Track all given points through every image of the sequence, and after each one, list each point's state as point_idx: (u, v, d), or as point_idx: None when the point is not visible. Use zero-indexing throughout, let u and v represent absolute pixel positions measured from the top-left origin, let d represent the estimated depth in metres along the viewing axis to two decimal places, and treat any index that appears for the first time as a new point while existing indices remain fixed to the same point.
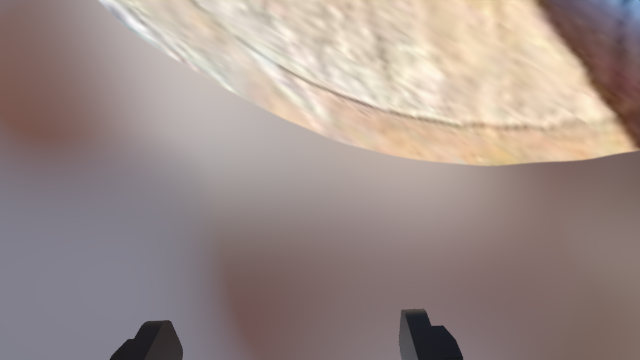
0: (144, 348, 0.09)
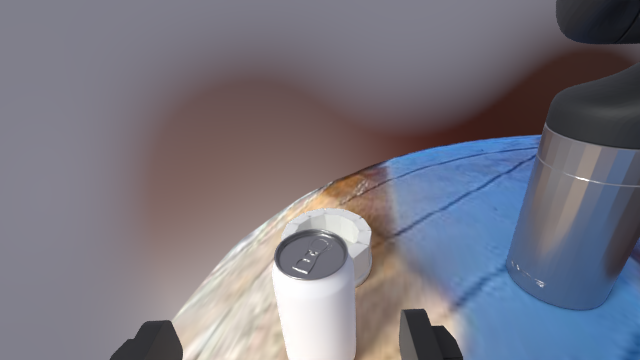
0: (144, 348, 0.09)
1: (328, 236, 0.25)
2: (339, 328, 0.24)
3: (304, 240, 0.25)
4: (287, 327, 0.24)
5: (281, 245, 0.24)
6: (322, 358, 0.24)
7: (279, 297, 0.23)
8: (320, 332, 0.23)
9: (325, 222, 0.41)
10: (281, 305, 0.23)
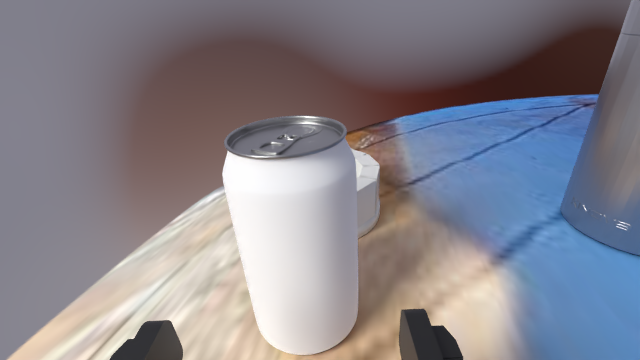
0: (144, 348, 0.09)
1: (316, 124, 0.16)
2: (331, 261, 0.14)
3: (278, 128, 0.16)
4: (248, 260, 0.15)
5: (240, 131, 0.15)
6: (304, 313, 0.15)
7: (231, 204, 0.14)
8: (298, 262, 0.14)
9: None
10: (235, 219, 0.14)
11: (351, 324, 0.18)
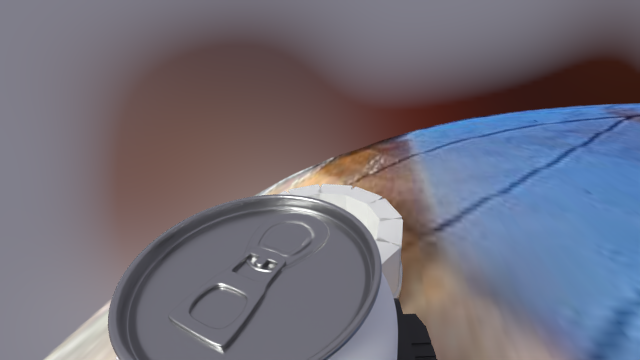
0: None
1: (316, 214, 0.09)
2: None
3: (246, 224, 0.09)
4: None
5: (170, 238, 0.08)
6: None
7: None
8: None
9: None
10: None
11: None
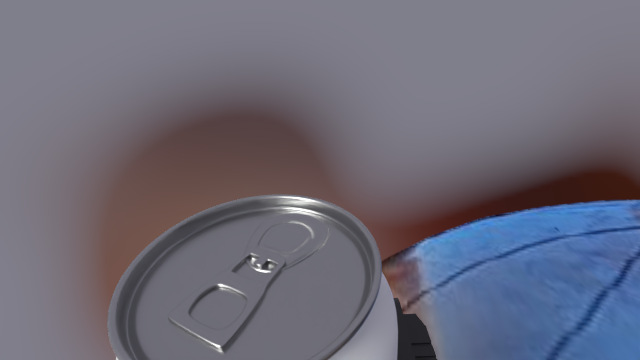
0: None
1: (316, 214, 0.09)
2: None
3: (246, 224, 0.09)
4: None
5: (169, 238, 0.08)
6: None
7: None
8: None
9: None
10: None
11: None
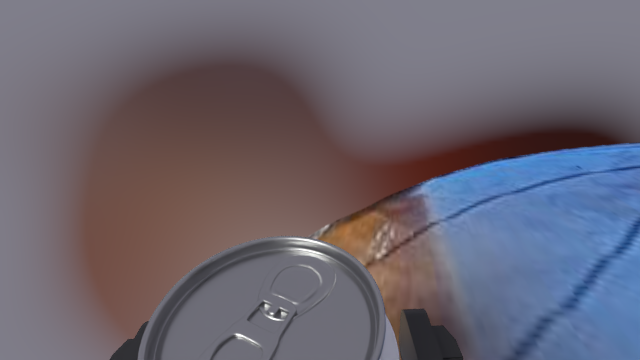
0: None
1: (323, 257, 0.09)
2: None
3: (257, 267, 0.09)
4: None
5: (187, 283, 0.09)
6: None
7: None
8: None
9: None
10: None
11: None
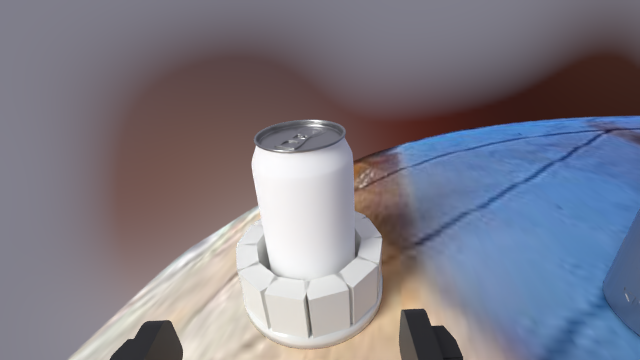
0: (144, 348, 0.09)
1: (322, 126, 0.21)
2: (334, 230, 0.19)
3: (293, 129, 0.21)
4: (270, 230, 0.19)
5: (264, 132, 0.20)
6: (313, 271, 0.20)
7: (259, 186, 0.18)
8: (309, 230, 0.18)
9: None
10: (262, 198, 0.19)
11: None
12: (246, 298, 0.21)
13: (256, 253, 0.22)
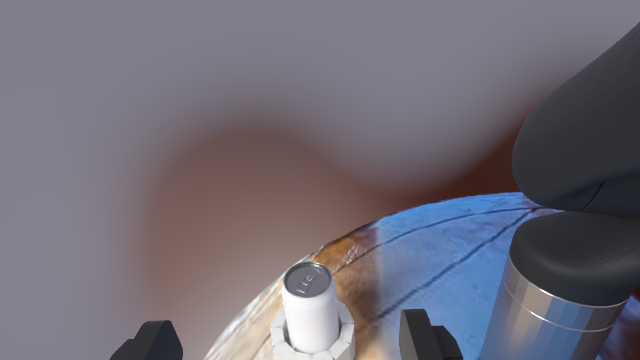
0: (144, 348, 0.09)
1: (319, 266, 0.38)
2: (326, 329, 0.36)
3: (303, 269, 0.38)
4: (292, 327, 0.36)
5: (288, 273, 0.37)
6: (314, 348, 0.37)
7: (286, 308, 0.35)
8: (312, 331, 0.35)
9: None
10: (287, 313, 0.36)
11: None
12: None
13: (282, 334, 0.39)
